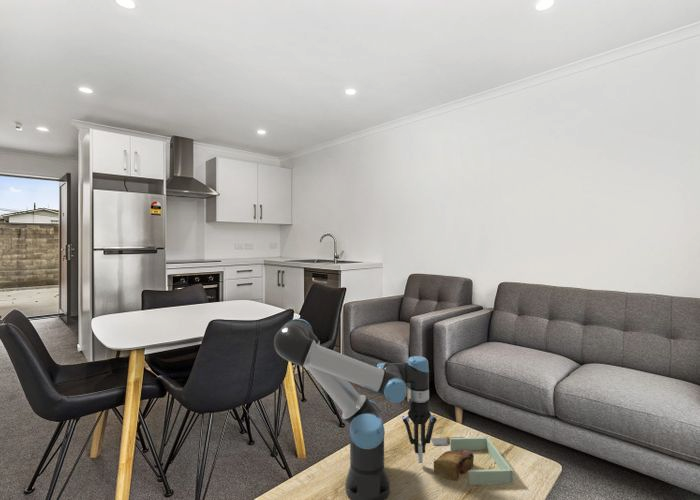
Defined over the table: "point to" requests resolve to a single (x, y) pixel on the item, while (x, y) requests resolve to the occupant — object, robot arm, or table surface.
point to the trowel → (442, 440)
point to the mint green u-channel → (482, 443)
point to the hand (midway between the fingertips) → (419, 461)
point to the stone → (454, 464)
